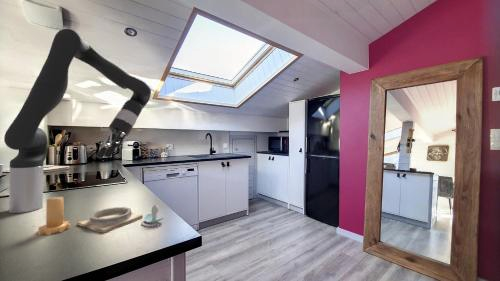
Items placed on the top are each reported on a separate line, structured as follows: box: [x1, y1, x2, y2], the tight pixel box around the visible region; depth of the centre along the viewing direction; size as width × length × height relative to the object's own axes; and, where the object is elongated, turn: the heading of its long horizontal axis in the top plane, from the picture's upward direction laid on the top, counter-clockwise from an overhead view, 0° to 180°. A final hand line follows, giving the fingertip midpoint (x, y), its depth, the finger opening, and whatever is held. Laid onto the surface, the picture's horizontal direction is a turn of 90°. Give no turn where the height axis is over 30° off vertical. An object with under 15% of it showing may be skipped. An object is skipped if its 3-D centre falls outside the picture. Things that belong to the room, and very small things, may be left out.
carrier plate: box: [76, 206, 144, 234], centre depth 74 cm, size 14×14×3 cm
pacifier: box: [141, 204, 164, 228], centre depth 72 cm, size 7×6×6 cm
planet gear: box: [37, 196, 71, 236], centre depth 66 cm, size 8×8×10 cm
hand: (102, 157), depth 80 cm, fingers open, 8 cm apart
